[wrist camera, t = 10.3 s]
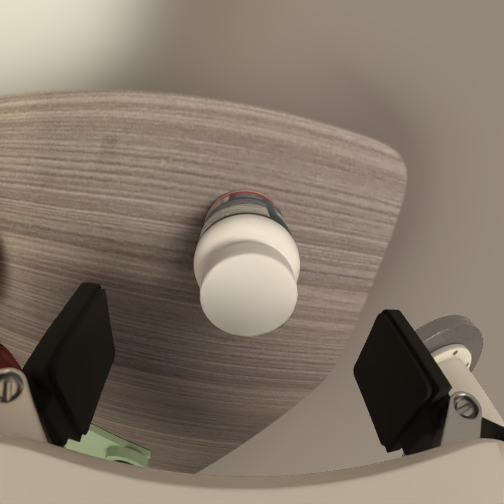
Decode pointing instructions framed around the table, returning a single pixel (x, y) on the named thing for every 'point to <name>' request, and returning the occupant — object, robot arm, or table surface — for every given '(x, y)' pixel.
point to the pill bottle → (246, 265)
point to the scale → (109, 447)
